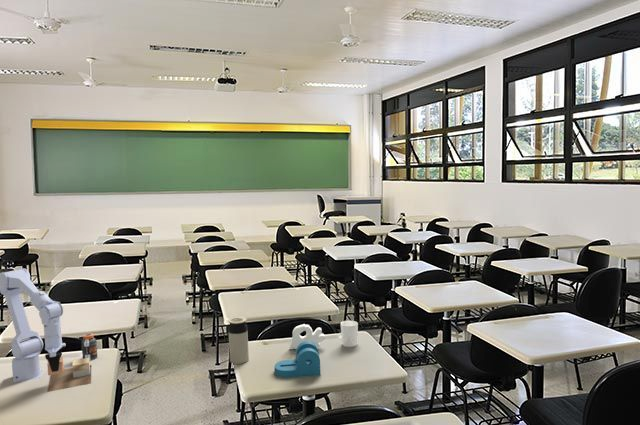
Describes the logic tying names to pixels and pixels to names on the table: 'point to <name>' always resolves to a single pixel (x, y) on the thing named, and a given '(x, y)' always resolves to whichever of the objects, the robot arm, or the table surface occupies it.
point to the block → (61, 368)
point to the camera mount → (300, 362)
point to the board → (67, 380)
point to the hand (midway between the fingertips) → (55, 368)
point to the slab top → (80, 364)
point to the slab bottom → (81, 373)
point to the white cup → (349, 333)
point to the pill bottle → (89, 347)
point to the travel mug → (238, 340)
